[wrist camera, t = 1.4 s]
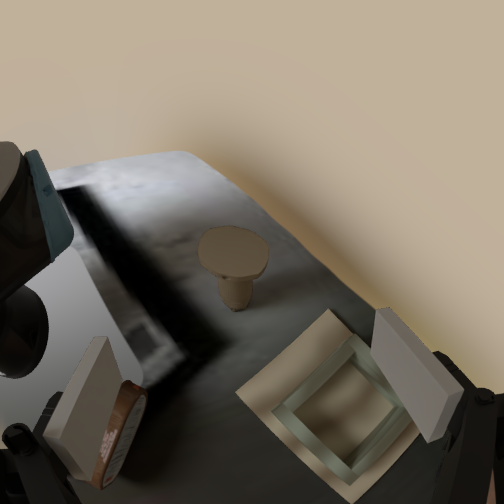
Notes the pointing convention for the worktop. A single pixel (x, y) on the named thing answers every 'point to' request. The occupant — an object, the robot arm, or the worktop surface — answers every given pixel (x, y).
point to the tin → (119, 433)
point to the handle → (233, 262)
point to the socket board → (332, 407)
